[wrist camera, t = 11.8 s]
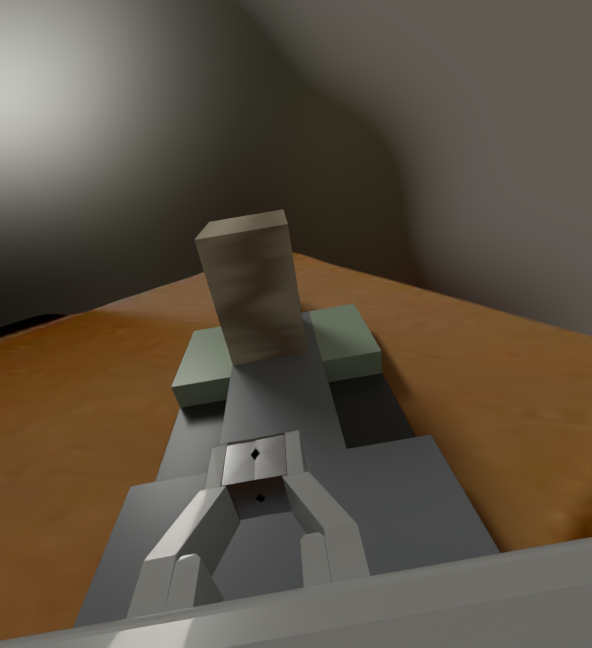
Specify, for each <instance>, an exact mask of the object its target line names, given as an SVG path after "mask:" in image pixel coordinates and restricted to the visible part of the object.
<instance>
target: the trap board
mask: <svg viewBox="0 0 592 648" xmlns="http://www.w3.org/2000/svg"><path fill="white" fill-rule="evenodd" d="M302 319H303V326H304V332H305V338H306V345H307V351H308V353H304V354H298V355H292V356H287V357H281V358H275V359H269V360H263V361H257V362H252V363H246V364H240V365H234V366H233V364H232V361H231V358H230V355H229V351H228V348H227V345H226V342H225V338H224V335H223V332H222V328H221V327H215V328H209V329H204V330H198V331H194V333H193V335H192V338H191V340H190V343H189V345H188V347H187V350H186V352H185V355H184V357H183V360H182V362H181V365H180V367H179V369H178V372H177V374H176V377H175V379H174V382H173V384H172V387H171V388H172V390H173V392H174V394H175V397H176V399H177V401H178V404H179V406H180V410H179V413H178V416H177V419H176V422H175V425H174V428H173V431H172V434H171V437H170V440H169V443H168V446H167V449H166V452H165V455H164V458H163V460H162V463H161V466H160V469H159V472H158V475H157V478H156V481H155V482H153V483H147V484H142V485H136V486H131V487H130V490H129V492H128V494H127V497H126V499H125V502H124V504H123V507H122V509H121V512H120V514H119V516H118V519H117V521H116V524H115V526H114V529H113V531H112V534H111V536H110V538H109V541H108V543H107V546H106V548H105V551H104V553H103V556H102V558H101V561H100V563H99V565H98V568H97V570H96V573H95V575H94V578H93V580H92V583H91V585H90V587H89V590H88V592H87V595H86V597H85V600H84V602H83V605H82V607H81V610H80V612H79V614H78V617H77V619H76V622H75V624H74V627H73V628H76V627H82V626H88V625H93V624H99V623H105V622H110V621H116V620H122V619H126V617H127V614H128V611H129V607H130V604H131V601H132V598H133V594H134V591H135V588H136V584H137V581H138V578H139V575H140V571H141V568H142V565H143V561H144V560H145V559H146V557H147V556H148V555H149V554H150V552H151V551H152V550H153V549H154V547H155V546H156V545H157V543H158V542H159V541H160V540H161V538H162V537H163V536H164V535H165V533H166V532H167V531H168V530H169V528H170V527H171V526H172V525H173V523H174V522H175V521H176V520H177V518H178V517H179V516H180V514H181V513H182V512H183V511H184V509H185V508H186V507H187V506H188V504H189V503H190V502H191V501H192V499H193V498H194V497H195V496H196V494H197V493H198V492H199V490H204V487H205V481H206V476H207V471H208V465H209V460H210V455H211V449H212V447H213V446H214V445H216V444H222V443H228V442H234V441H241V440H248V439H255V438H259V437H264V436H269V435H275V434H280V433H286V432H292V431H298V430H299V431H300V435H301V440H302V445H303V450H304V455H305V461H306V466H307V472H310V473H311V474H312V475H313V476H314V477H315V479H316V480H317V481H318V482H319V483H320V484H321V485H322V486H323V487H324V488H325V489H326V491H327V492H328V493H329V494H330V495H331V496H332V497H333V498H334V499H335V500H336V502H337V503H338V504H339V505H340V506H341V507H342V508H343V509H344V510H345V511H346V512H347V514H348V515H349V516H350V517H351V518H352V519H353V520H354V521H355V522H356V523H357V524H358V528H359V533H360V537H361V541H362V545H363V549H364V553H365V557H366V561H367V565H368V569H369V573H370V576H373V575H379V574H384V573H390V572H396V571H401V570H407V569H413V568H419V567H424V566H430V565H436V564H441V563H447V562H453V561H459V560H464V559H470V558H476V557H481V556H487V555H493V554H499V553H500V551H499V550H498V548H497V546H496V545H495V543H494V541H493V540H492V538H491V536H490V534H489V533H488V531H487V529H486V528H485V526H484V524H483V523H482V521H481V519H480V517H479V516H478V514H477V512H476V511H475V509H474V507H473V506H472V504H471V502H470V500H469V499H468V497H467V495H466V494H465V492H464V490H463V489H462V487H461V485H460V483H459V482H458V480H457V478H456V477H455V475H454V473H453V472H452V470H451V468H450V466H449V465H448V463H447V461H446V460H445V458H444V456H443V455H442V453H441V451H440V450H439V448H438V446H437V444H436V443H435V441H434V439H433V438H432V436H431V435H426V436H420V437H416V436H415V434H414V433H413V431H412V429H411V427H410V425H409V423H408V421H407V419H406V417H405V416H404V414H403V412H402V410H401V408H400V406H399V404H398V402H397V400H396V399H395V397H394V395H393V393H392V391H391V389H390V387H389V385H388V384H387V382H386V380H385V378H384V376H383V374H382V351H381V349H380V348H379V346H378V344H377V342H376V341H375V339H374V337H373V336H372V334H371V332H370V331H369V329H368V327H367V325H366V324H365V322H364V320H363V319H362V317H361V315H360V314H359V312H358V310H357V308H356V307H355V305H354V304H350V305H344V306H338V307H332V308H326V309H320V310H315V311H309V312H303V313H302ZM240 522H241V523H240V524H239V526H238V528H237V530H236V532H235V534H234V536H233V538H232V540H231V541H230V543H229V545H228V547H227V549H226V551H225V553H224V555H223V557H222V559H221V560H220V562H219V564H218V566H217V568H216V570H215V572H214V574H213V576H212V579H213V581H214V582H215V584H216V586H217V588H218V589H219V591H220V593H221V595H222V596H223V598H224V599H223V602H224V601H230V600H236V599H241V598H247V597H253V596H258V595H264V594H270V593H276V592H281V591H287V590H293V589H298V588H304V583H303V570H302V556H301V543H300V540H301V539H302V537H303V536H304V535H306V533H305V531H304V530H303V528H302V527H301V525H300V524H299V522H298V521H297V519H296V518H295V516H294V515H293V514H292V511H291V512H284V513H277V514H271V515H264V516H259V517H255V518H250V519H245V520H240Z"/></svg>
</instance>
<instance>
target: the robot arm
mask: <svg viewBox="0 0 592 648" xmlns="http://www.w3.org/2000/svg"><path fill="white" fill-rule="evenodd" d="M291 511H292V514H293V515H294V516H295V518H296V519H297V521H298V522H299V524H300V525H301V527H302V528H303V530H304V531H305V533H306V535H304V536H303V537H302V539H301V540H300V543H301V556H302V570H303V583H304V588H298V589H293V590H287V591H281V592H276V593H270V594H264V595H258V596H253V597H247V598H241V599H236V600H230V601H224V602H223V599H224V598H223V596H222V595H221V593H220V591H219V589H218V588H217V586H216V584H215V582H214V581H213V579H212V576H213V574H214V572H215V570H216V568H217V566H218V564H219V562H220V560H221V559H222V557H223V555H224V553H225V551H226V549H227V547H228V545H229V543H230V541H231V540H232V538H233V536H234V534H235V532H236V530H237V528H238V526H239V524H240V523H241V522H240V520H245V519H250V518H255V517H259V516H264V515H271V514H277V513H284V512H291ZM0 648H592V537H590V538H584V539H579V540H573V541H567V542H562V543H556V544H550V545H544V546H539V547H533V548H527V549H522V550H516V551H510V552H504V553H499V554H493V555H487V556H481V557H476V558H470V559H464V560H459V561H453V562H447V563H441V564H436V565H430V566H424V567H419V568H413V569H407V570H401V571H396V572H390V573H384V574H379V575H373V576H370V573H369V569H368V565H367V561H366V557H365V553H364V549H363V545H362V541H361V537H360V533H359V528H358V524H357V523H356V522H355V521H354V520H353V519H352V518H351V517H350V516H349V515H348V514H347V512H346V511H345V510H344V509H343V508H342V507H341V506H340V505H339V504H338V503H337V502H336V500H335V499H334V498H333V497H332V496H331V495H330V494H329V493H328V492H327V491H326V489H325V488H324V487H323V486H322V485H321V484H320V483H319V482H318V481H317V480H316V479H315V477H314V476H313V475H312V474H311V473H310V472H307V466H306V461H305V455H304V450H303V445H302V440H301V435H300V431H299V430H298V431H292V432H286V433H280V434H275V435H269V436H264V437H259V438H255V439H248V440H241V441H234V442H228V443H222V444H216V445H214V446H213V447H212V449H211V455H210V460H209V465H208V471H207V476H206V481H205V487H204V490H199V492H198V493H197V494H196V496H195V497H194V498H193V499H192V501H191V502H190V503H189V504H188V506H187V507H186V508H185V509H184V511H183V512H182V513H181V514H180V516H179V517H178V518H177V520H176V521H175V522H174V523H173V525H172V526H171V527H170V528H169V530H168V531H167V532H166V533H165V535H164V536H163V537H162V538H161V540H160V541H159V542H158V543H157V545H156V546H155V547H154V549H153V550H152V551H151V552H150V554H149V555H148V556H147V557H146V559H145V560H144V561H143V565H142V568H141V571H140V575H139V578H138V581H137V584H136V588H135V591H134V594H133V598H132V601H131V604H130V607H129V611H128V614H127V617H126V619H122V620H116V621H110V622H105V623H99V624H93V625H88V626H82V627H76V628H71V629H65V630H59V631H53V632H48V633H42V634H36V635H31V636H25V637H19V638H13V639H8V640H2V641H0Z"/></svg>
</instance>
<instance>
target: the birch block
mask: <svg viewBox="0 0 592 648" xmlns="http://www.w3.org/2000/svg"><path fill="white" fill-rule="evenodd" d="M195 243H196V246H197V250H198V253H199V256H200V259H201V263H202V266H203V269H204V273H205V276H206V279H207V282H208V286H209V289H210V292H211V296H212V299H213V302H214V305H215V309H216V312H217V315H218V319H219V322H220V325H221V328H222V332H223V335H224V338H225V342H226V345H227V348H228V351H229V355H230V358H231V361H232V364H233V366H234V365H240V364H246V363H252V362H257V361H263V360H269V359H275V358H281V357H287V356H292V355H298V354H304V353H308V351H307V345H306V338H305V332H304V326H303V319H302V313H301V306H300V300H299V294H298V287H297V281H296V275H295V268H294V262H293V255H292V250H291V243H290V236H289V230H288V224H287V221H286V217H285V214H284V211H283V210H277V211H272V212H266V213H260V214H254V215H248V216H242V217H236V218H231V219H225V220H219V221H213V222H209V223H208V224H207V226H206V227H205V228H204V229H203V230H202V232H201V233H200V234H199V235H198V236H197V238H196V239H195Z"/></svg>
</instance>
